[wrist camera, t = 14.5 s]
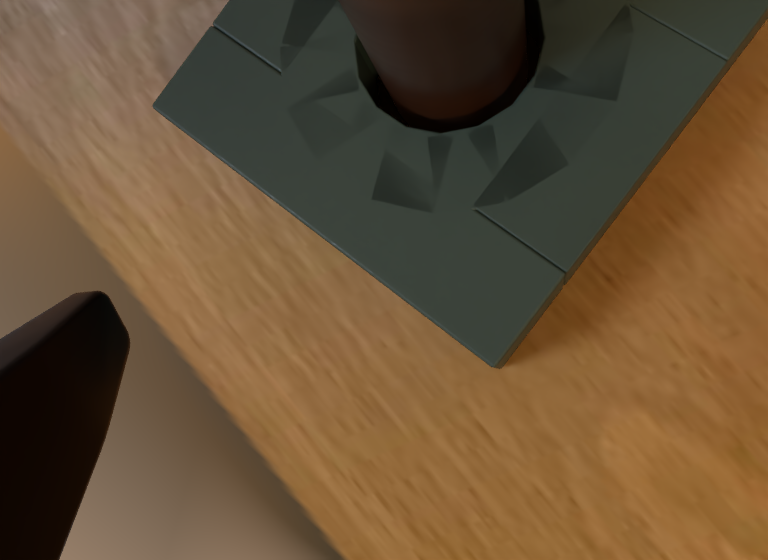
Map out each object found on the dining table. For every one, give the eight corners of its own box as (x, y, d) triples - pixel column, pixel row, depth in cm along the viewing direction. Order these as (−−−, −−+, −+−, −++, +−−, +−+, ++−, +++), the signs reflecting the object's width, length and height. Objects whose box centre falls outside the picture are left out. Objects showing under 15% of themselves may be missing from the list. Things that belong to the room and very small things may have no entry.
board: (500, 370, 19) (494, 369, 17) (192, 135, 22) (149, 106, 20) (770, 15, 19) (803, -39, 17) (421, -174, 22) (405, -243, 20)
